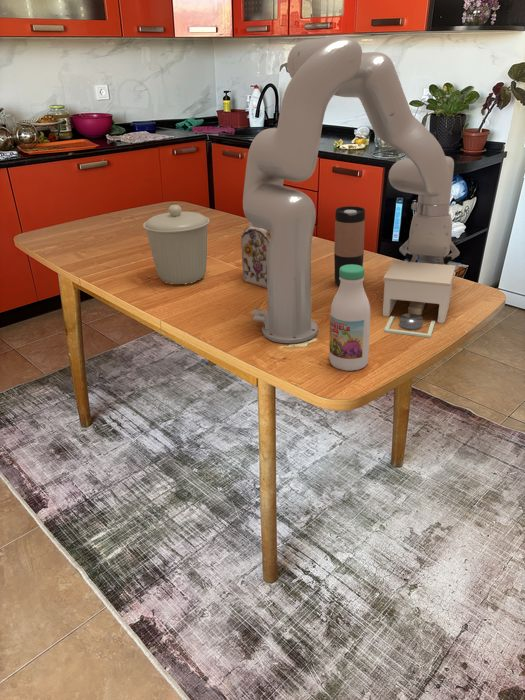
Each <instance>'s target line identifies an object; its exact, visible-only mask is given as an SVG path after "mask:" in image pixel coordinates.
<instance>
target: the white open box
mask: <svg viewBox="0 0 525 700" xmlns="http://www.w3.org/2000/svg"><path fill="white" fill-rule="evenodd" d="M455 271H456V265H453V264H446V265H443V264H439V263H437V264H430V263H419V261H418V262H409V261H407V260H406V261H403V260H393V261H392V262H391V264H390V266H389V267H388V269H387V270H386V273H385V274H384V276H383V277H382V278H383V281H384V289H383V301H382V302H383V303H382V304H383V305H382V317H389V318H390V317H391V316H390V315H391V313H392V311H393V310H394V307H395V305H396V303H397V301H408V302H411V301H415V302H425V304H437V305H438V306H439V307H438V315H437V323H439V324H440V323H441V324H445V323H446V322H445V321H446V319H447V315H448V311H449V307H450V303H451V296H452V295H451V294H452V286H453V277H454V275H455Z"/></svg>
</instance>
